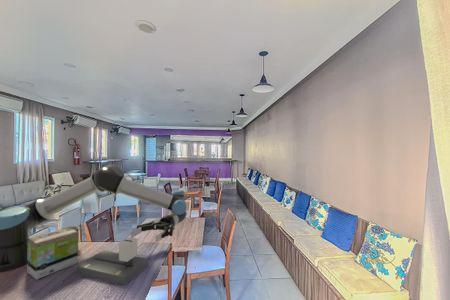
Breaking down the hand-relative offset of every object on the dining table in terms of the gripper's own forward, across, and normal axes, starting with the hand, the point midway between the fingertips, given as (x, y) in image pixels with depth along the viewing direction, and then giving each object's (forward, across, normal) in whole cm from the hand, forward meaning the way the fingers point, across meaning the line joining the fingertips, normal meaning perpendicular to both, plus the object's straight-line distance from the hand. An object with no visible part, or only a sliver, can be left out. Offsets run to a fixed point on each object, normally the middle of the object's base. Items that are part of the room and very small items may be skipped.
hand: (143, 237), depth 99 cm
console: (+10, +8, -11) cm, 17 cm away
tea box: (+17, +33, -12) cm, 39 cm away
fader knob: (+10, 0, -8) cm, 12 cm away
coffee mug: (+1, +44, -11) cm, 45 cm away
